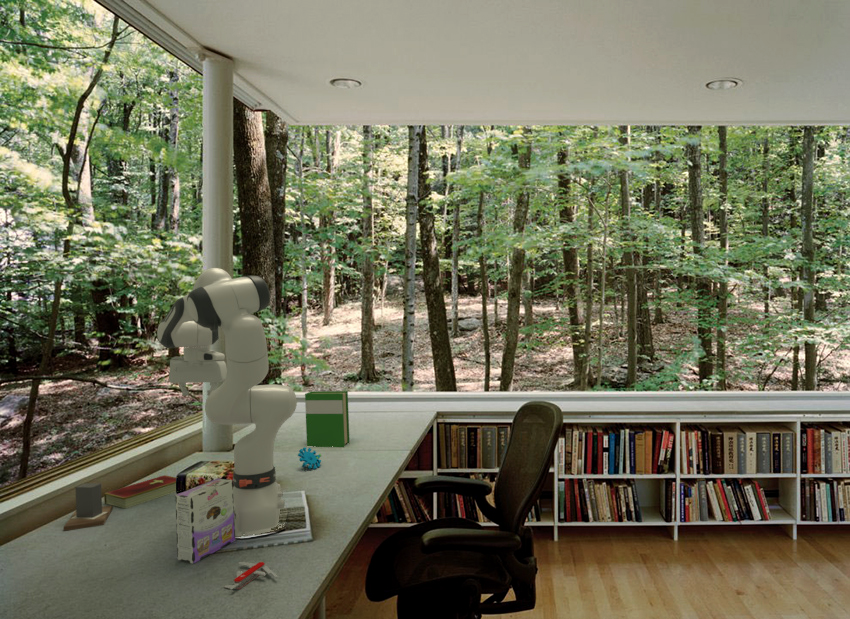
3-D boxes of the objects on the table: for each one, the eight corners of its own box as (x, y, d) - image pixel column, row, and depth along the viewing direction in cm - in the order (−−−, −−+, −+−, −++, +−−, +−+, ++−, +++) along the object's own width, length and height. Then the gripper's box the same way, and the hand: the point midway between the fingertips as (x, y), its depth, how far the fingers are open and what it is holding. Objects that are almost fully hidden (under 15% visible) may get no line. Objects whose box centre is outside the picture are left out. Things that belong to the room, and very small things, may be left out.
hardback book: (349, 443, 246) (347, 391, 246) (344, 447, 239) (342, 393, 239) (313, 442, 249) (311, 391, 249) (306, 446, 242) (305, 393, 242)
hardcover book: (104, 504, 176) (103, 492, 176) (164, 485, 194) (163, 474, 194) (124, 510, 170) (124, 497, 170) (184, 490, 188) (184, 478, 188)
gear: (307, 468, 202) (295, 447, 207) (298, 478, 204) (287, 457, 209) (328, 465, 211) (316, 444, 216) (320, 474, 213) (309, 454, 217)
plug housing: (102, 513, 164) (101, 483, 164) (93, 517, 160) (92, 487, 160) (85, 512, 164) (84, 483, 164) (76, 517, 161) (75, 487, 161)
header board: (103, 524, 157) (103, 510, 157) (63, 530, 154) (63, 516, 154) (112, 508, 170) (112, 496, 171) (76, 514, 167) (75, 501, 167)
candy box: (219, 538, 145) (217, 477, 145) (236, 541, 142) (233, 479, 142) (176, 560, 132) (174, 493, 132) (193, 564, 130) (191, 496, 130)
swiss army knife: (255, 600, 113) (254, 590, 113) (204, 589, 118) (204, 580, 118) (288, 574, 123) (288, 565, 123) (240, 565, 128) (240, 557, 128)
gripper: (164, 356, 185) (164, 397, 184) (219, 355, 182) (220, 396, 181) (175, 356, 191) (176, 395, 190) (229, 354, 188) (229, 394, 187)
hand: (198, 395), depth 186 cm, fingers open, 8 cm apart
